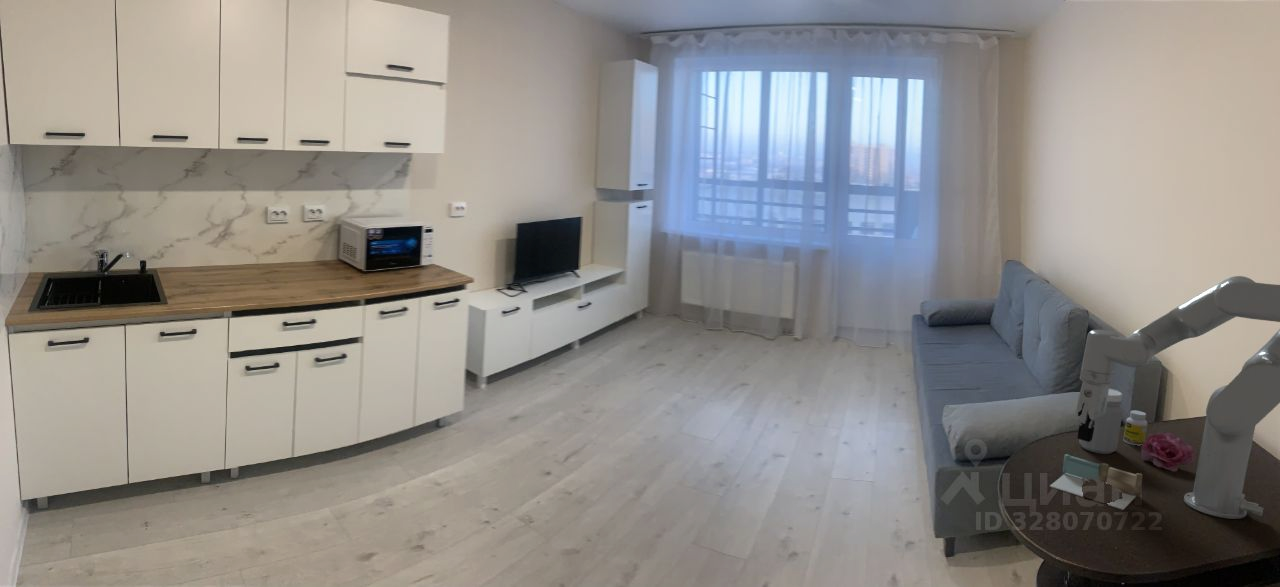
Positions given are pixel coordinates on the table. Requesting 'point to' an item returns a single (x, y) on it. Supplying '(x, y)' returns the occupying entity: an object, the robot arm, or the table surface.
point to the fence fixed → (1121, 479)
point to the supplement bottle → (1135, 428)
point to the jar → (1106, 427)
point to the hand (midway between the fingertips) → (1084, 439)
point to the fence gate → (1080, 467)
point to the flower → (1166, 451)
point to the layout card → (1075, 487)
